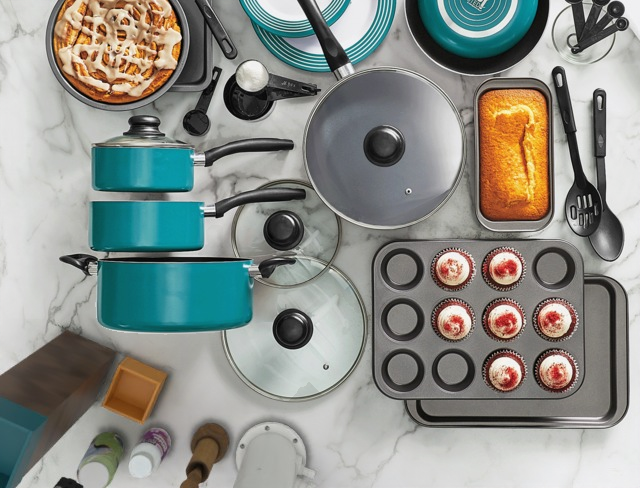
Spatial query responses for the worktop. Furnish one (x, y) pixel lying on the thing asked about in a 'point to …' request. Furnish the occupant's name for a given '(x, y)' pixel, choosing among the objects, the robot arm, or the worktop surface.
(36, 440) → the teal bin
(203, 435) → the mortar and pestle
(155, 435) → the pill bottle
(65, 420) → the riser
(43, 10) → the worktop surface
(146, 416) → the amber bin
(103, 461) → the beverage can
